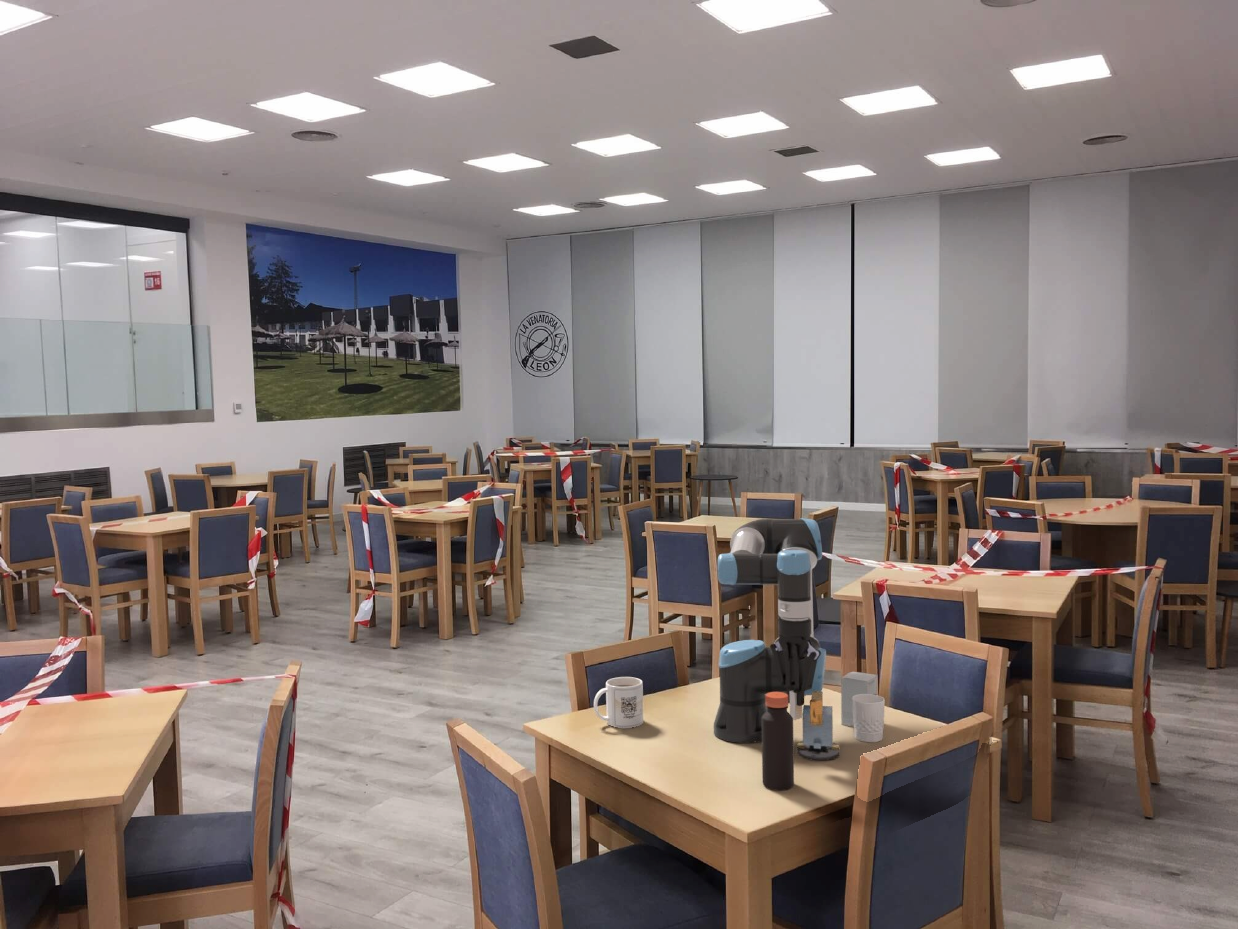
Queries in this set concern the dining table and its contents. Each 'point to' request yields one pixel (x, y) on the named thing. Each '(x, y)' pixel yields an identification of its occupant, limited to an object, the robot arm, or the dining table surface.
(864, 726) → the white cup
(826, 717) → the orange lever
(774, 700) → the bottle
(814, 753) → the dark grey cylinder
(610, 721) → the mug
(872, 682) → the supplement box
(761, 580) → the robot arm
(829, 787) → the dining table surface
